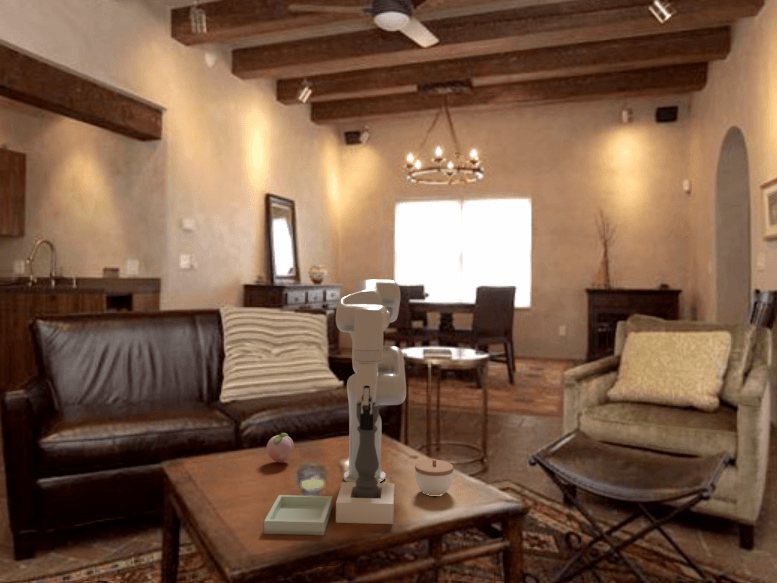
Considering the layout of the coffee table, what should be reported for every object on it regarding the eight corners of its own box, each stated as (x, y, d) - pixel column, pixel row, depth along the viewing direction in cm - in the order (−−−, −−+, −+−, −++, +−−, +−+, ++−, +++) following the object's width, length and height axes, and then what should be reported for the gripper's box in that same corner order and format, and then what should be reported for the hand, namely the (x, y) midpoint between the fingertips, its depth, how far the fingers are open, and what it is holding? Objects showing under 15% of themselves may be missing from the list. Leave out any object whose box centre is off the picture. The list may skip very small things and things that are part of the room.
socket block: (341, 500, 158) (342, 481, 158) (394, 501, 158) (394, 483, 158) (335, 522, 144) (336, 502, 144) (393, 524, 144) (393, 503, 144)
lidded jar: (442, 484, 172) (443, 452, 171) (459, 497, 162) (460, 463, 161) (408, 488, 168) (409, 456, 167) (424, 502, 158) (424, 467, 158)
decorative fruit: (270, 458, 193) (270, 428, 192) (295, 458, 193) (295, 428, 192) (263, 467, 183) (263, 436, 183) (289, 468, 183) (289, 436, 183)
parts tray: (278, 506, 154) (278, 494, 154) (332, 507, 153) (332, 496, 153) (264, 533, 138) (264, 520, 138) (323, 535, 137) (324, 522, 137)
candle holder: (349, 500, 152) (350, 404, 150) (367, 493, 156) (368, 400, 155) (365, 507, 147) (366, 408, 146) (383, 500, 152) (384, 404, 150)
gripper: (356, 350, 159) (355, 417, 159) (350, 361, 141) (349, 435, 142) (384, 351, 158) (383, 417, 159) (381, 361, 141) (380, 436, 142)
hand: (367, 425), depth 151 cm, fingers closed on candle holder, 5 cm apart
